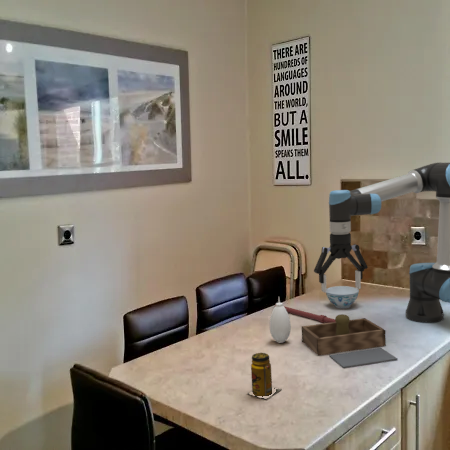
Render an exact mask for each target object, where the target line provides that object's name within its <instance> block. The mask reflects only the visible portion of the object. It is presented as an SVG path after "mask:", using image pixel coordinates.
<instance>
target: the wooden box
mask: <svg viewBox="0 0 450 450" xmlns="http://www.w3.org/2000/svg"><path fill="white" fill-rule="evenodd" d="M336 327H337V323H336V322H331V323H326V322H325V323H317V324H309V325H303V326H301V341H302V343H303V344H304V345H305V346H306V347H308V348H309V349H310V350H311V351H312V352H314V353H315V354H316V355H317V356H326V355H334V354H340V353H347V352H354V351H361V350H368V349H375V348H383V347H386V346H387V345H386V339H387V337H386V329H384V328H382V327H381V326H379V325H378V324H376V323H374V322H372V321H370V320H368V319H367V318H365V317H362V318H356V319H350V321H349V324H348V327H349V333H350V334H344V335H337V336H336Z"/></svg>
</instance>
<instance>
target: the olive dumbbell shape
mask: <svg viewBox="0 0 450 450" xmlns="http://www.w3.org/2000/svg"><path fill="white" fill-rule="evenodd" d="M334 319H335V321H336V323H337V327H336V336H337V335H344V334H350V333H349V327H348V324H349V321H350V320H351V319H350V317H349V315H347V314H343V313H342V314H337V315H336V316H335V318H334Z"/></svg>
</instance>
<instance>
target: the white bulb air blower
mask: <svg viewBox="0 0 450 450" xmlns="http://www.w3.org/2000/svg"><path fill="white" fill-rule="evenodd" d="M277 300H278V301H277V302H276V303H275V305H276V306H275V305H274V306H275V307H274V306H273V309H272V312H271V314H270V318H269V332H270V334H271V337H272V339H273V340H274V341H275V342H276V343H279V344H283V343H285V342H286V341H287V340H288V339H289V337H290V334H291V328H292V326H291V320H290V316H289V313H288V312H287V311H286V309H285V307H286V306H285V307H284V303H282V302H281V300H280V297H278V299H277Z"/></svg>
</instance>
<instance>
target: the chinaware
mask: <svg viewBox="0 0 450 450" xmlns="http://www.w3.org/2000/svg"><path fill="white" fill-rule="evenodd" d="M359 291H360V290H359V289H358V288H356V287H354V286H348V285H347V286H346V285H337V286H336V285H335V286H330V287H328V288H327V287H326V293H325V294H326V298H327V299H328V301H329V302H330V303H331V304H333V305H334V307H335V308H336V309H349V308H350V307H351V305H353V304H354V302H356V300H357V299H358V296H359Z"/></svg>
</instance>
